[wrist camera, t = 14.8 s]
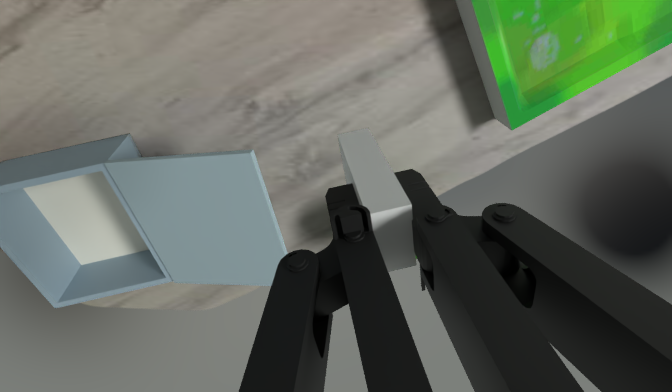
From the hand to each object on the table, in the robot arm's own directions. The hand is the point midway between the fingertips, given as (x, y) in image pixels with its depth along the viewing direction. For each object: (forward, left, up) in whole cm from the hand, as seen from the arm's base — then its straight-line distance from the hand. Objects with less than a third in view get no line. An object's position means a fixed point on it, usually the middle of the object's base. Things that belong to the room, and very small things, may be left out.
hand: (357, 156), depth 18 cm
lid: (+15, -16, -19) cm, 29 cm away
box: (+15, -32, -30) cm, 47 cm away
